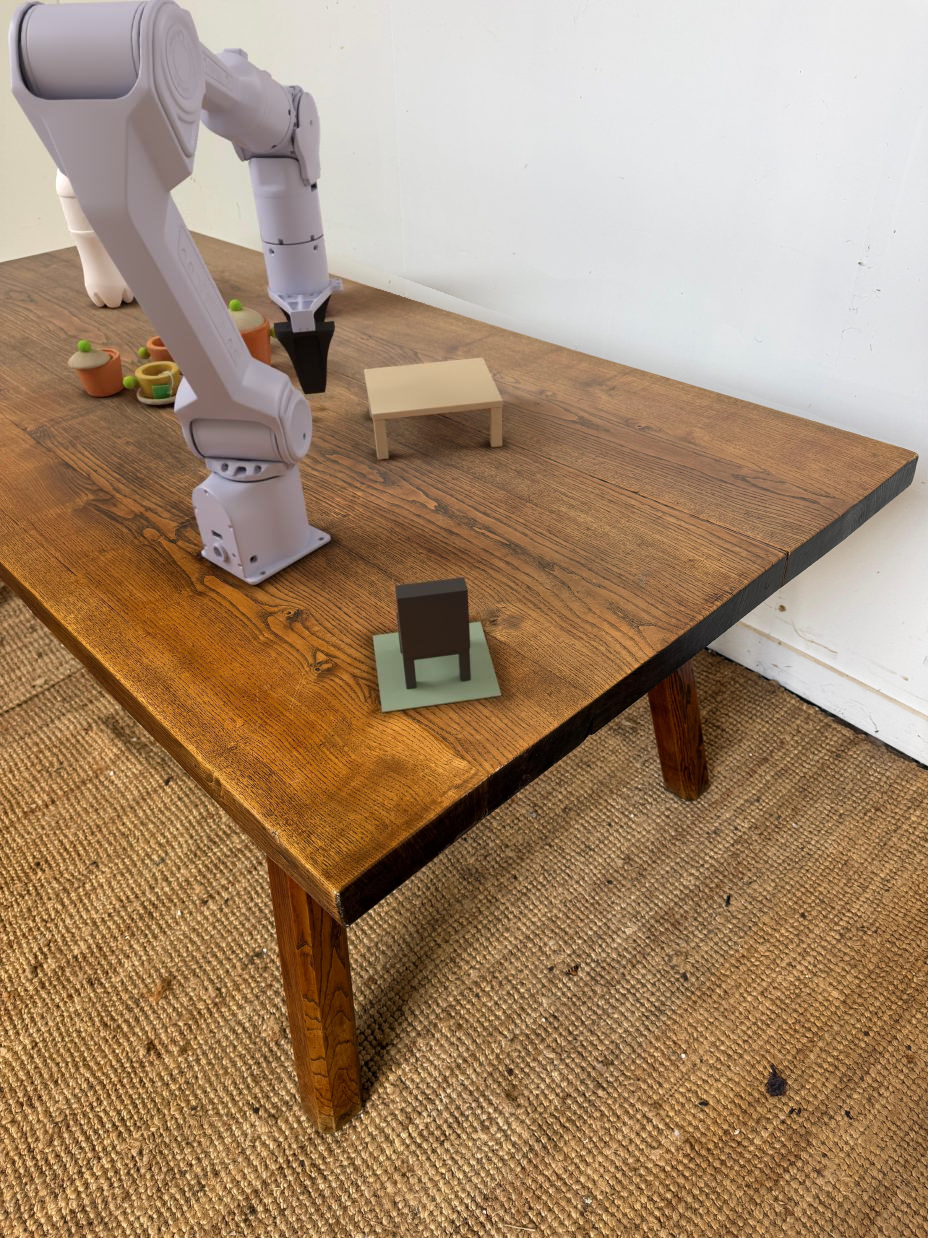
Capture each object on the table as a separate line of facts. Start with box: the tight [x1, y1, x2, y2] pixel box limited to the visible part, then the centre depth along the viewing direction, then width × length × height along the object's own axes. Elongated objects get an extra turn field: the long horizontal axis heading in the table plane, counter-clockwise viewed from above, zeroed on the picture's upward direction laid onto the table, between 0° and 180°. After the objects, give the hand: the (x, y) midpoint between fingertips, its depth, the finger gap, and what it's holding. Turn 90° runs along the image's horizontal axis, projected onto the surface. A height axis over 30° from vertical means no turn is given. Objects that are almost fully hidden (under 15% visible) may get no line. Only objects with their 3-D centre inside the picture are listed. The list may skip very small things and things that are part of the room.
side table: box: [363, 357, 504, 460], centre depth 99 cm, size 12×14×6 cm
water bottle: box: [55, 167, 134, 309], centre depth 132 cm, size 7×7×25 cm
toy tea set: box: [67, 299, 278, 406], centre depth 112 cm, size 26×16×10 cm, turn 126°
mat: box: [372, 621, 502, 714], centre depth 69 cm, size 9×9×1 cm
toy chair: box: [394, 576, 471, 689], centre depth 66 cm, size 5×5×9 cm
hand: (313, 376), depth 90 cm, fingers open, 7 cm apart
